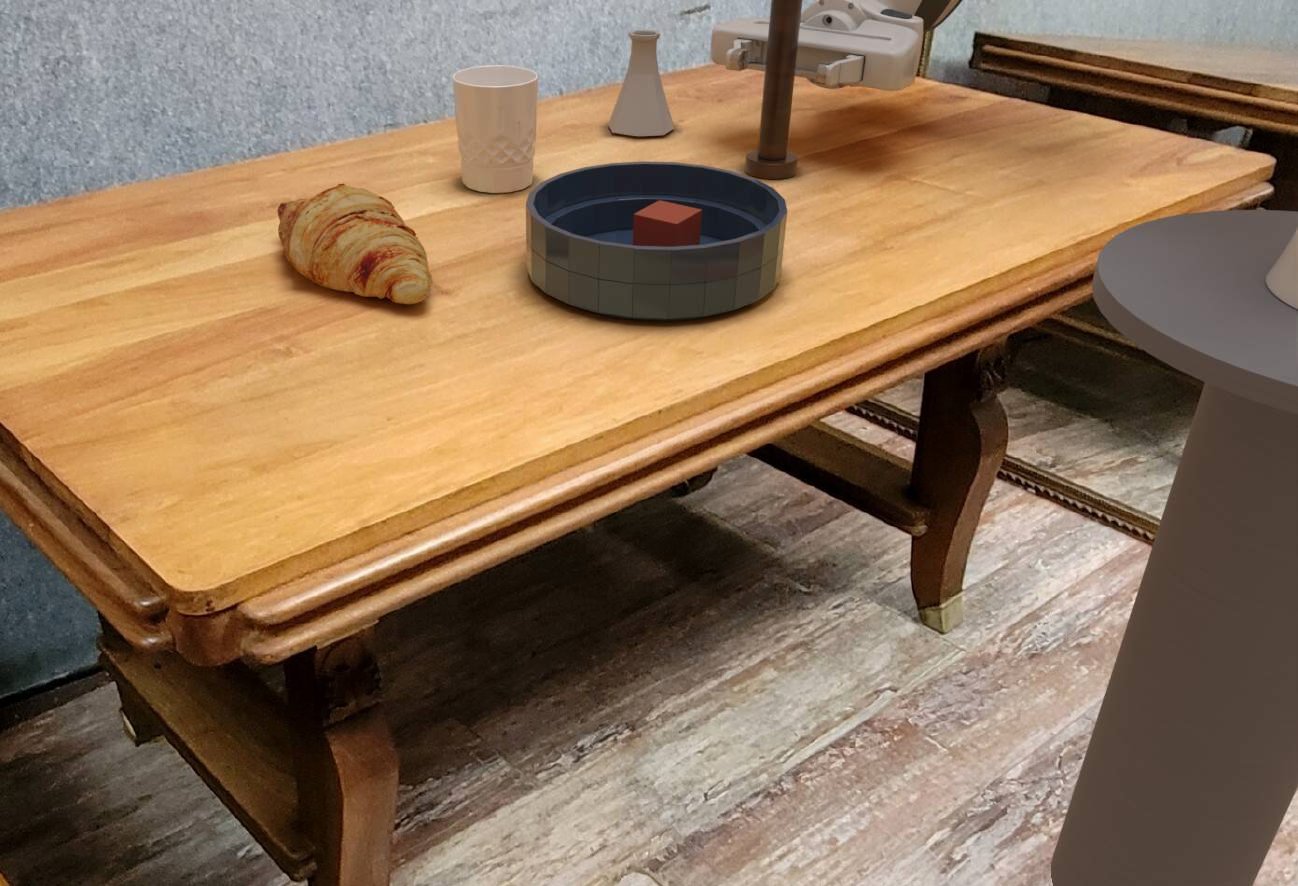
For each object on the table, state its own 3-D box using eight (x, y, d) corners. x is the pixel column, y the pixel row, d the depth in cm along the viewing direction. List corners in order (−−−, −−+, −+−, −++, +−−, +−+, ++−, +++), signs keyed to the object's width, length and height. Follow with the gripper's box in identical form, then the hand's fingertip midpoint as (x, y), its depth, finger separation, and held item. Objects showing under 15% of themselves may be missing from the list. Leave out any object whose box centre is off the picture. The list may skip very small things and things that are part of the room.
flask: (671, 140, 130) (676, 41, 125) (603, 137, 132) (604, 38, 126) (677, 121, 136) (682, 25, 131) (612, 118, 137) (614, 23, 132)
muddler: (804, 169, 122) (826, -27, 113) (782, 182, 119) (802, -18, 109) (759, 160, 125) (776, -33, 115) (735, 173, 121) (751, -24, 112)
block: (699, 256, 102) (702, 209, 99) (674, 272, 99) (677, 223, 97) (657, 246, 103) (659, 199, 101) (631, 261, 101) (633, 213, 99)
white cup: (548, 173, 121) (548, 68, 116) (524, 199, 115) (523, 89, 110) (473, 166, 123) (469, 62, 118) (444, 191, 117) (439, 82, 111)
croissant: (458, 344, 97) (495, 247, 95) (356, 319, 89) (394, 214, 87) (317, 260, 110) (346, 174, 108) (218, 233, 103) (248, 140, 101)
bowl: (821, 261, 102) (829, 190, 99) (700, 349, 88) (706, 270, 85) (614, 213, 112) (616, 147, 109) (477, 286, 98) (474, 212, 95)
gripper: (748, -4, 129) (682, 19, 119) (940, 19, 119) (883, 47, 109) (743, 59, 132) (678, 86, 123) (929, 87, 122) (873, 119, 113)
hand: (777, 68), depth 116 cm, fingers open, 8 cm apart
